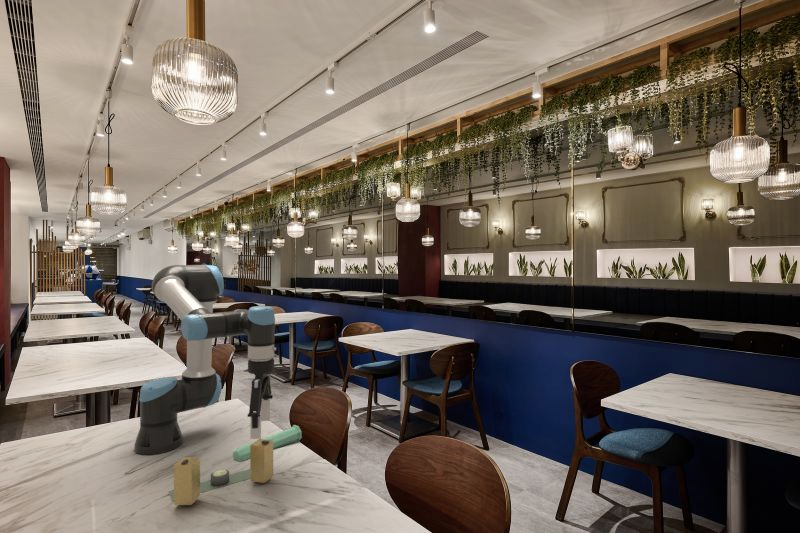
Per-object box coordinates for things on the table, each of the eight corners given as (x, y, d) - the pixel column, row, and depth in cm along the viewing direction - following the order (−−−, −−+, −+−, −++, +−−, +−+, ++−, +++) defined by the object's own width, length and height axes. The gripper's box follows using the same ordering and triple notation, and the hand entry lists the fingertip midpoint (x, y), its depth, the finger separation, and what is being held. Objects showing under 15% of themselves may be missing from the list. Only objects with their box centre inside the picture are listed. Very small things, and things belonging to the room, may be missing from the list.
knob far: (250, 484, 127) (250, 443, 127) (259, 477, 132) (259, 437, 131) (264, 486, 126) (264, 445, 126) (273, 479, 130) (273, 438, 130)
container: (237, 447, 142) (299, 423, 161) (228, 449, 145) (290, 426, 165) (241, 465, 140) (303, 439, 160) (232, 468, 144) (294, 442, 163)
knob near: (183, 499, 119) (183, 455, 119) (200, 499, 119) (199, 455, 119) (174, 508, 115) (173, 463, 115) (191, 508, 114) (191, 463, 114)
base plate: (168, 495, 123) (168, 480, 123) (260, 469, 139) (260, 455, 138) (175, 514, 114) (175, 497, 114) (274, 484, 129) (273, 469, 129)
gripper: (265, 369, 119) (265, 446, 120) (280, 349, 144) (280, 413, 145) (237, 369, 119) (236, 447, 119) (257, 349, 143) (256, 414, 144)
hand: (260, 429), depth 132 cm, fingers open, 13 cm apart
